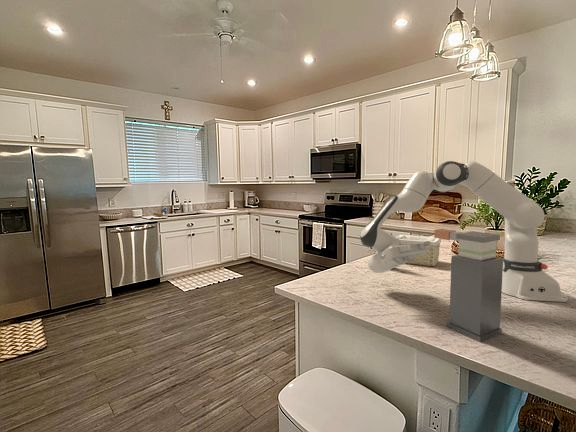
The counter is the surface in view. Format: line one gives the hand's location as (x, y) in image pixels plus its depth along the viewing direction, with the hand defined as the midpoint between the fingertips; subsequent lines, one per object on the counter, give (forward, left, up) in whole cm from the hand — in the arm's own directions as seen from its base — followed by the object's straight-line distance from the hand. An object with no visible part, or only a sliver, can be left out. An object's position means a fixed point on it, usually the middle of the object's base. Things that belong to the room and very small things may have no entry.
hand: (420, 244), depth 114 cm
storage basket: (+2, -69, -25) cm, 74 cm away
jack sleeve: (-16, +14, -25) cm, 32 cm away
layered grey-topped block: (-13, +10, -17) cm, 23 cm away
